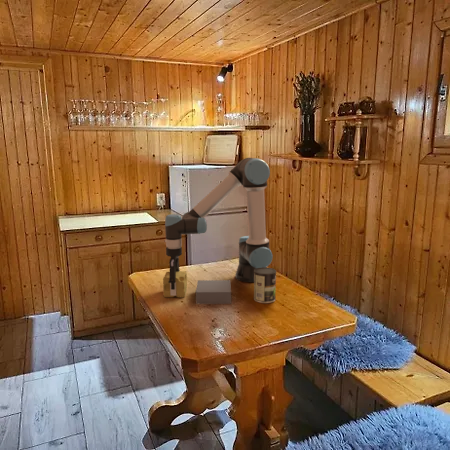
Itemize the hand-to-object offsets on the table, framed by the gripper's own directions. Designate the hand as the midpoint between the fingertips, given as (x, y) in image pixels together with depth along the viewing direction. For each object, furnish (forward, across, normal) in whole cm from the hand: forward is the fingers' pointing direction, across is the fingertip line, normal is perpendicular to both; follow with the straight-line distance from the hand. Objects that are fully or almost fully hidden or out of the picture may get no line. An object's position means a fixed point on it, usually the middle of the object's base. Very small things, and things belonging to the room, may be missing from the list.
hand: (175, 291), depth 198 cm
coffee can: (+1, +6, +43) cm, 44 cm away
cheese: (+2, 0, 0) cm, 2 cm away
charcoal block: (+2, +4, +19) cm, 20 cm away
